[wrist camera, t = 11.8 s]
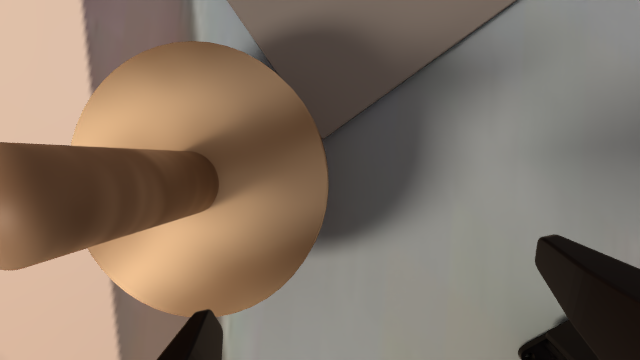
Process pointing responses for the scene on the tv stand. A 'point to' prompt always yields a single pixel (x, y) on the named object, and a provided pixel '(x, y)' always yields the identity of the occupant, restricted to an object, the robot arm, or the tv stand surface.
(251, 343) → the tv stand surface
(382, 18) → the rubber mat
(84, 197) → the oak lid
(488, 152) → the tv stand surface
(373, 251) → the tv stand surface
